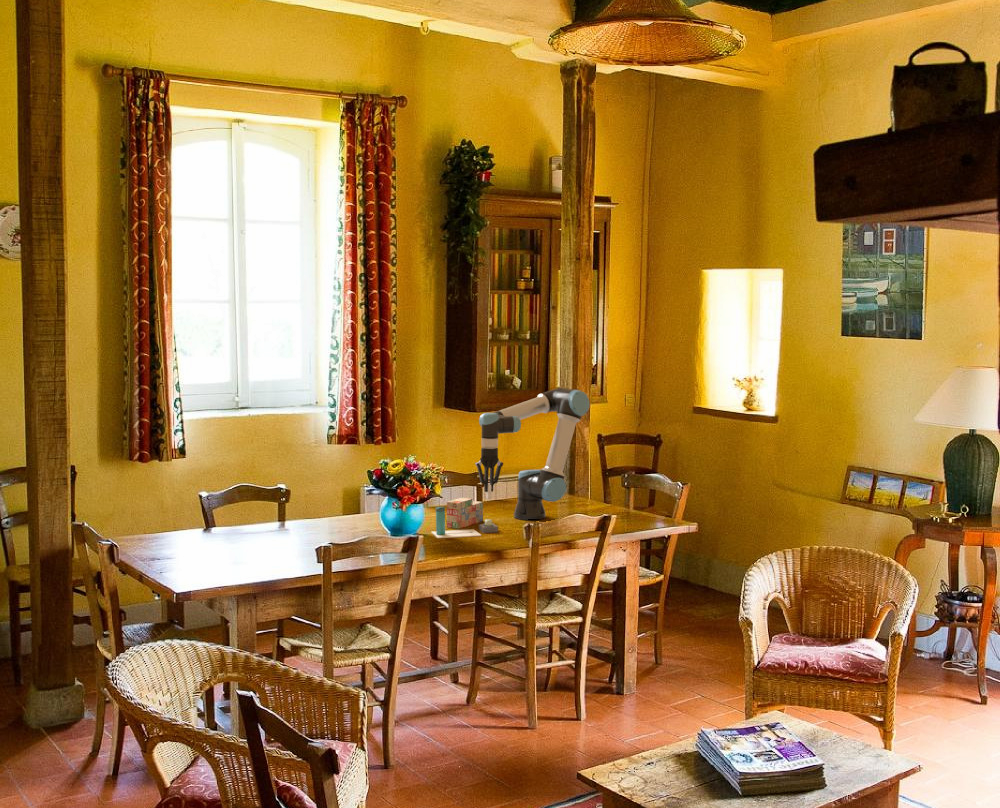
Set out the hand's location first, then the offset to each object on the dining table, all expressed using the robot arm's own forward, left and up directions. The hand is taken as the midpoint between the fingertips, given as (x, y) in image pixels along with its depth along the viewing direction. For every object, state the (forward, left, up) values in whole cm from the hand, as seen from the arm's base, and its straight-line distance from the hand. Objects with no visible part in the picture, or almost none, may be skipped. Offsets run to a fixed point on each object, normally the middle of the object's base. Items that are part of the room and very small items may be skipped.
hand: (488, 498), depth 502 cm
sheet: (+16, +3, -15) cm, 22 cm away
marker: (+23, +3, -14) cm, 27 cm away
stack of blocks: (+6, -17, -15) cm, 23 cm away
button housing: (0, 0, -15) cm, 15 cm away
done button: (0, 0, -13) cm, 13 cm away
